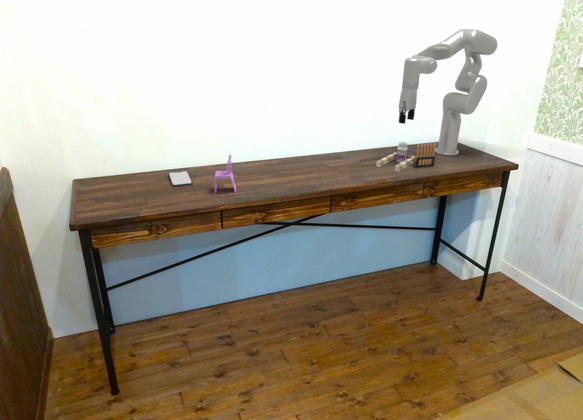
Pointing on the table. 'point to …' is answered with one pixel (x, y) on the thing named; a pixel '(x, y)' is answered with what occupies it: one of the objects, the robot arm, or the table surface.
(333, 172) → the table surface
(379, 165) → the guide channel
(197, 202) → the table surface
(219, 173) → the toy chair
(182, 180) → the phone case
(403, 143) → the pill bottle
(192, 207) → the table surface
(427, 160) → the ammunition clip
